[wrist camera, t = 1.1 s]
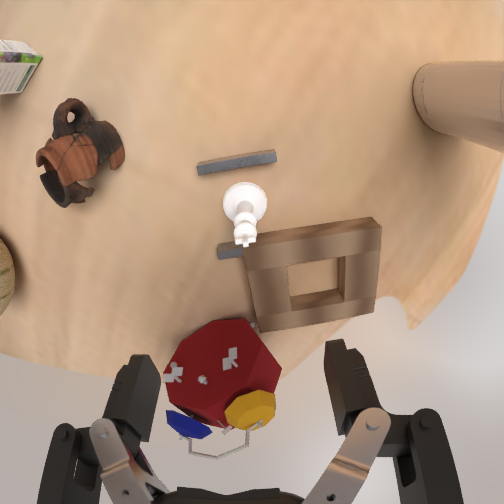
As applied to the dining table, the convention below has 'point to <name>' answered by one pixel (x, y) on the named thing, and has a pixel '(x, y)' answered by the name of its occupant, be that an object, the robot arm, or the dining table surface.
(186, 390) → the alarm clock
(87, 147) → the pottery mug
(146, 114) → the dining table surface
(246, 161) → the stand rails
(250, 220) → the chess piece
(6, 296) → the cantaloupe
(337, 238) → the block
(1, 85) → the syrup box
